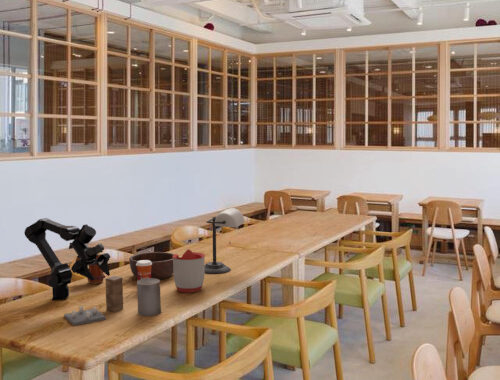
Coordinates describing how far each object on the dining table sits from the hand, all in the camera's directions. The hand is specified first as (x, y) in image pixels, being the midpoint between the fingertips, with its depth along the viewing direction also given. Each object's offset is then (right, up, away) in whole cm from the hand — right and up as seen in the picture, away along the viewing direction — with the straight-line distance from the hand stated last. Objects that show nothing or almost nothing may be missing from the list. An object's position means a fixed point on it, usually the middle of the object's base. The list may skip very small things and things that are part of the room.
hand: (101, 277), depth 248 cm
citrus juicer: (+35, -10, +28) cm, 46 cm away
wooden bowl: (+13, -8, +55) cm, 57 cm away
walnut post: (+6, -13, -2) cm, 15 cm away
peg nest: (-3, -15, -14) cm, 20 cm away
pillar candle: (+22, -14, -6) cm, 27 cm away
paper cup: (+14, -10, +28) cm, 33 cm away
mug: (-16, -9, +41) cm, 45 cm away
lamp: (+48, -6, +65) cm, 81 cm away
